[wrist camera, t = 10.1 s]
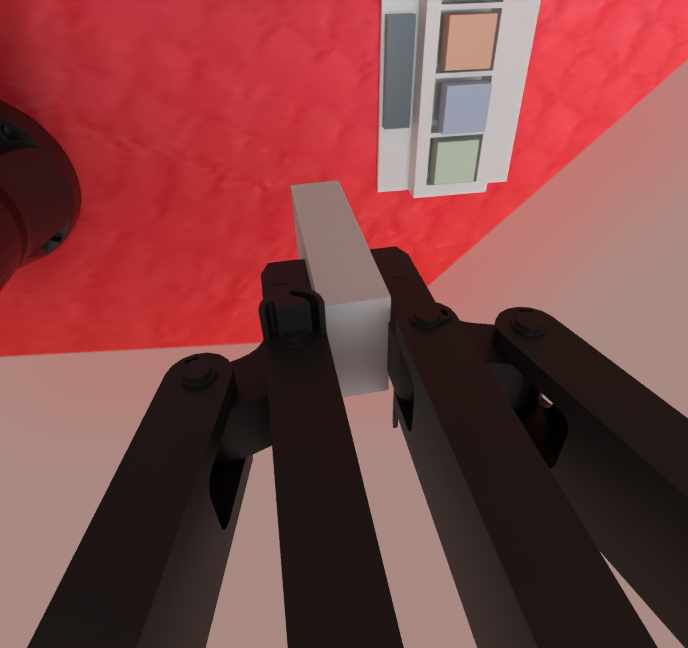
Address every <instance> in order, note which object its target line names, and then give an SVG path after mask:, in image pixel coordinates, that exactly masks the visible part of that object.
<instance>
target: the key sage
mask: <svg viewBox="0 0 688 648" xmlns="http://www.w3.org/2000/svg"><path fill="white" fill-rule="evenodd" d="M478 146H479V139H478V138H477V137H475V136H474V135H463V136H450V137H436V138H433V144H432V155H431V166H430V178H429V179H430V180H431V181H432V182H433V184H434V185H435V184H447V183H459V182H471V181H473V180H474V173H475V167H476V160H477V153H478Z"/></svg>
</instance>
